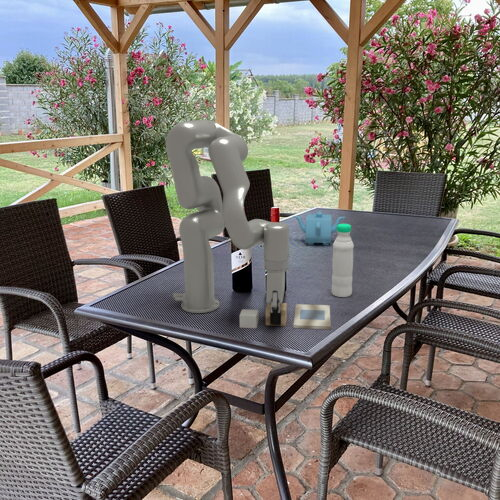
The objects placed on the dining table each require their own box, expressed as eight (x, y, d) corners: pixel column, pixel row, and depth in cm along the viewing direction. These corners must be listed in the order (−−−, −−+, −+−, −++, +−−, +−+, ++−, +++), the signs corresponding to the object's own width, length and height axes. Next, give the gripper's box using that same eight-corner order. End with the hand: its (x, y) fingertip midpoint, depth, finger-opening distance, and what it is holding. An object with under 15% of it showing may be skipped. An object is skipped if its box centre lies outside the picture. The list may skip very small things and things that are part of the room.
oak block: (265, 325, 158) (265, 309, 156) (267, 317, 163) (267, 302, 162) (285, 325, 157) (285, 310, 156) (286, 318, 163) (286, 303, 161)
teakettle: (317, 249, 239) (318, 218, 235) (290, 241, 254) (291, 212, 250) (346, 243, 250) (347, 213, 246) (319, 235, 264) (319, 207, 260)
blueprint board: (293, 328, 155) (293, 324, 155) (295, 307, 171) (295, 304, 171) (330, 329, 154) (330, 326, 154) (329, 308, 170) (329, 305, 170)
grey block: (239, 327, 156) (239, 315, 155) (242, 321, 161) (242, 309, 160) (256, 328, 156) (256, 316, 154) (258, 322, 160) (258, 309, 159)
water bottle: (349, 290, 186) (352, 222, 179) (353, 297, 179) (356, 226, 172) (329, 291, 186) (331, 222, 179) (333, 298, 179) (335, 227, 172)
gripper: (266, 255, 164) (266, 309, 169) (260, 272, 147) (261, 331, 152) (290, 256, 163) (290, 309, 168) (287, 273, 146) (287, 332, 151)
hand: (276, 319), depth 160 cm, fingers closed on oak block, 6 cm apart
